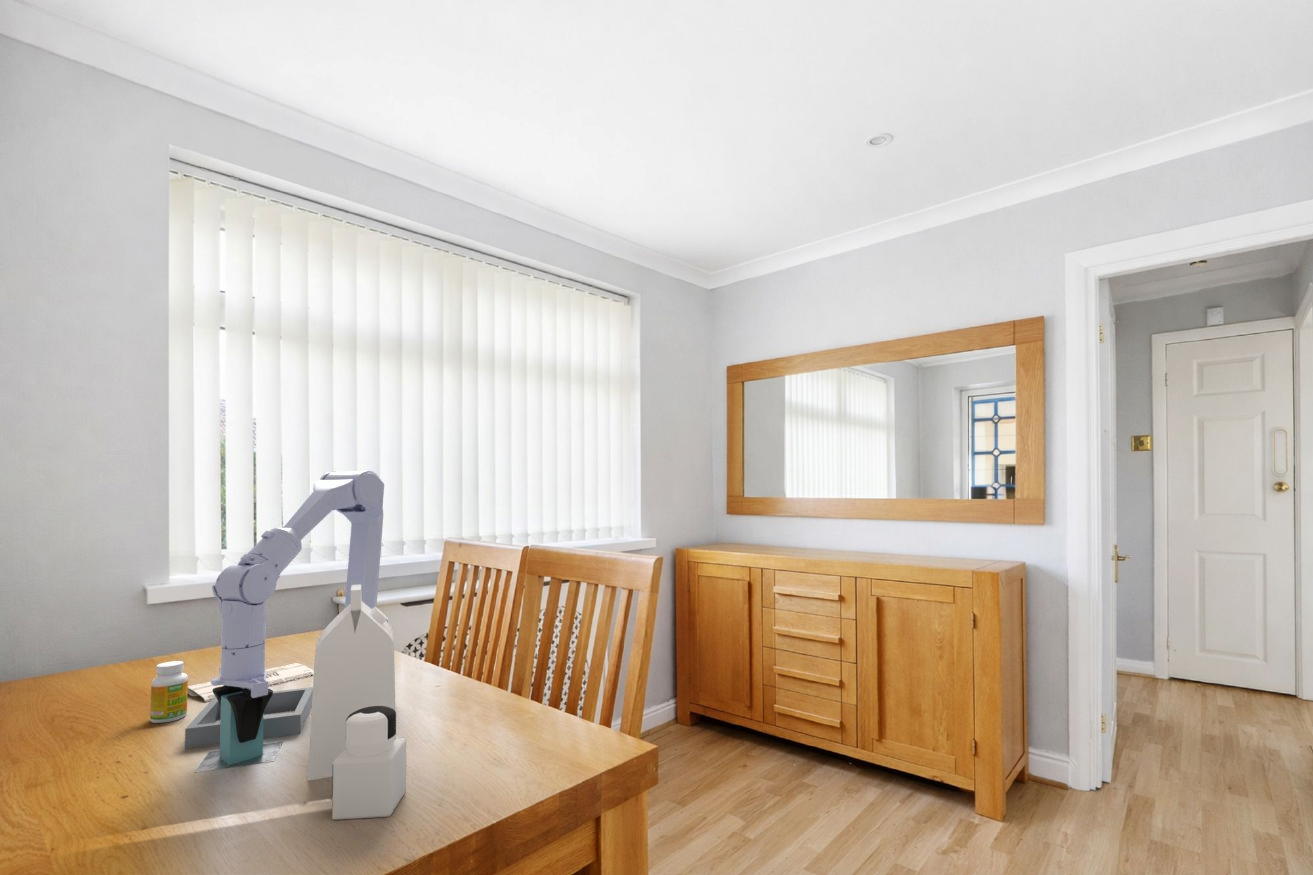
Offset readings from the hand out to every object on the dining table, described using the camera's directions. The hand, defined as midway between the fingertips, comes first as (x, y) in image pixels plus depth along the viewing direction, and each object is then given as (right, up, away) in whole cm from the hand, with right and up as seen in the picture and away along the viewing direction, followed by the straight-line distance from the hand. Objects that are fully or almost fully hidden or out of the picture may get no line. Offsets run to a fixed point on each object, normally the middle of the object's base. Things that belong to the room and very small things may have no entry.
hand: (241, 736), depth 100 cm
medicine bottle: (+26, -3, -14) cm, 29 cm away
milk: (+17, -4, -1) cm, 18 cm away
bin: (-6, -5, +13) cm, 16 cm away
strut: (0, -3, 0) cm, 3 cm away
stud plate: (0, -4, 0) cm, 4 cm away
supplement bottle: (-26, -6, +20) cm, 33 cm away
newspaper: (-24, -8, +41) cm, 48 cm away
